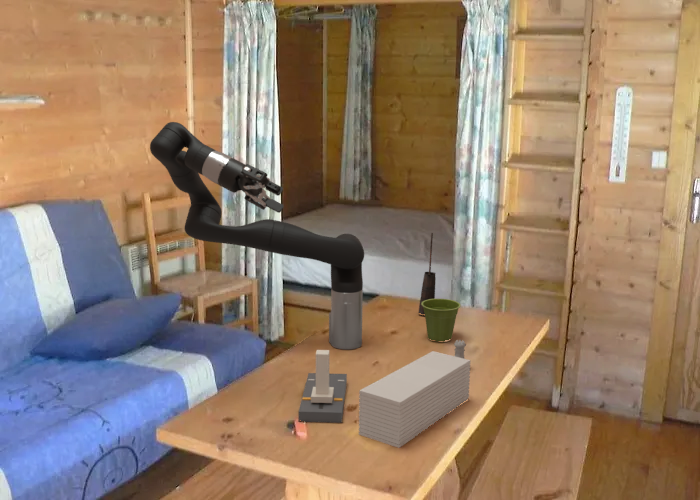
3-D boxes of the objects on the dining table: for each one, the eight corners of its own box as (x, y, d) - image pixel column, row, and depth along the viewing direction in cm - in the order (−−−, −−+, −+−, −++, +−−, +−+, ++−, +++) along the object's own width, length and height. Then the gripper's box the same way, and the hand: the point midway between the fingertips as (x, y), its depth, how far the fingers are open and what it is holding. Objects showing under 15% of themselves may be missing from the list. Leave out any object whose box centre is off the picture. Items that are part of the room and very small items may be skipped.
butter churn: (433, 321, 253) (436, 238, 247) (407, 316, 258) (409, 234, 252) (444, 314, 261) (447, 233, 255) (419, 310, 266) (421, 230, 260)
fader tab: (313, 392, 187) (313, 347, 185) (333, 393, 187) (333, 348, 185) (310, 402, 181) (310, 356, 179) (332, 403, 181) (332, 356, 179)
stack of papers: (431, 390, 197) (432, 350, 195) (468, 401, 191) (470, 360, 189) (358, 435, 172) (359, 390, 170) (398, 448, 166) (400, 402, 164)
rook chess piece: (468, 367, 213) (469, 339, 211) (465, 372, 209) (466, 344, 207) (452, 365, 214) (453, 337, 213) (449, 370, 210) (450, 342, 209)
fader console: (308, 381, 202) (308, 371, 201) (346, 382, 201) (346, 372, 201) (298, 421, 178) (298, 410, 178) (341, 422, 178) (341, 411, 177)
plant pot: (412, 339, 236) (413, 303, 233) (435, 330, 244) (436, 296, 242) (443, 348, 228) (445, 312, 225) (466, 339, 236) (468, 303, 234)
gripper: (219, 196, 195) (274, 226, 192) (213, 166, 182) (272, 197, 179) (235, 175, 198) (290, 203, 195) (231, 144, 185) (289, 174, 182)
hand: (281, 200), depth 187 cm, fingers open, 8 cm apart
